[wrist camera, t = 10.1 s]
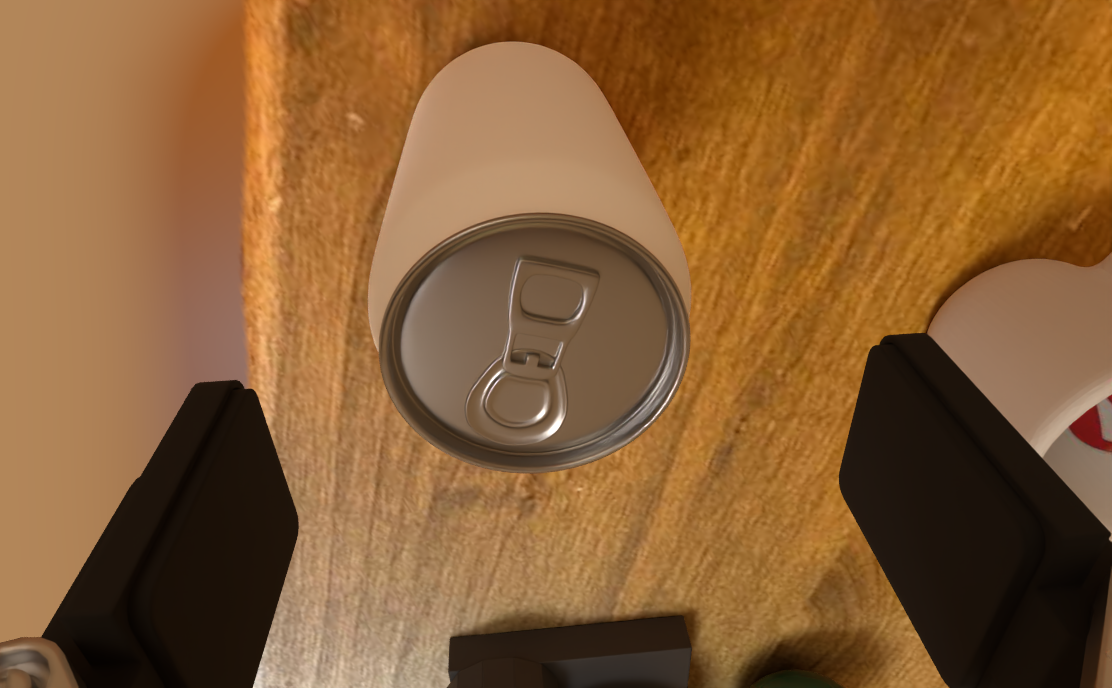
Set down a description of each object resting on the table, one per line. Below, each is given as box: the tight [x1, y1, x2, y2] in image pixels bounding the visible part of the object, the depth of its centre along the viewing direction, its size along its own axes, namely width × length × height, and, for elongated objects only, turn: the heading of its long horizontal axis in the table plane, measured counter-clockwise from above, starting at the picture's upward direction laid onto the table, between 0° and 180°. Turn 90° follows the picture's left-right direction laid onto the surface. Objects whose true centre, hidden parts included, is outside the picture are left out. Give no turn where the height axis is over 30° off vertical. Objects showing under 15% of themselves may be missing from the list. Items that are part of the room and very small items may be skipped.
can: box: [368, 42, 691, 473], centre depth 18 cm, size 6×6×12 cm
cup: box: [927, 252, 1112, 542], centre depth 24 cm, size 11×8×8 cm
